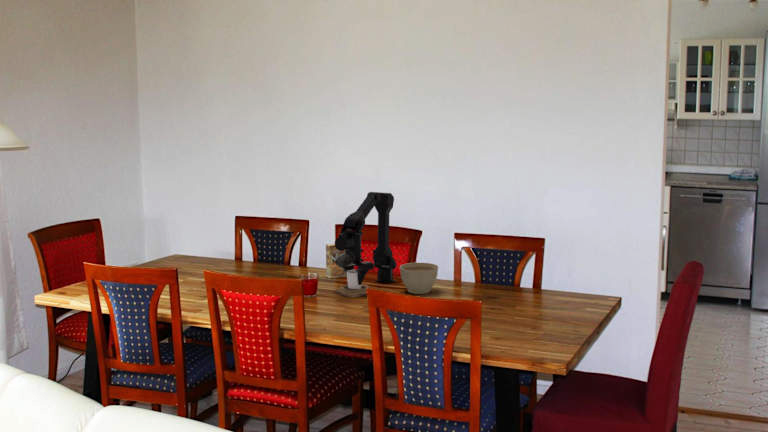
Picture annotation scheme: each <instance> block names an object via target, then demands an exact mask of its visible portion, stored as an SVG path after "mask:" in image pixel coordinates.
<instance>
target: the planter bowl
mask: <svg viewBox="0 0 768 432" xmlns="http://www.w3.org/2000/svg"><path fill="white" fill-rule="evenodd" d="M399 271H400V277H401V280H402V283H403V285H404V286H405V288H406V289H407V292H408V293H410V294H414V295H422V294H429V293H430V292H431V290H432V288H433V286H434V285H435V283H436V280H437V277H438V273H439V266H438V265H437V264H434V263H430V262H409V263H404V264H401V265H400V266H399Z"/></svg>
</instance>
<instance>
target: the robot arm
mask: <svg viewBox="0 0 768 432" xmlns="http://www.w3.org/2000/svg"><path fill="white" fill-rule="evenodd" d="M366 195H367V196H366V197H365V199H364V200H363V201H362V203H361V204H360V205H359V206H358V208H357V210H355V211H354V212H352V213H350V214H349V215H347V217H345V219H344V221H343V224H342V227H341V230H340V233H339V234H338V237H337V238H336V239H335V240H334V244H335V247H336V249H337V250H339V251H343V250H345V254H343V255H341V256H340V257H338V258H337V259H336V260H335V264H336V265H338V266H340V267H341V268H342V269H343V270H344V271H345V274H346V276H347V273H346V271H347V270H355V269H354V267H357V269H356V270H355V271H356V272H357V273H358V284H359V285H361V284H363V281H364V280H365V277H366V275H367V274H368V272H369V271H370V270H375V269H376V268H377V273H376V274H377V277H376V278H377V279H375V282H377V283H378V282H379V283H381V284H382V283H383V284H387V283H393V282H396V279H394V270H395V269H396V268H397V265H398V263H397V261H396V259H395V258H394V256H393V251H392V248H391V246H390V213H391V211H392V210H393V208H394V202H395V197H394V195H393V194H392V193H391V192H380V191H379V192H377V191H369V192H368V193H367V194H366ZM374 208H375V210H376V212H377V246H376V247H375V249H373V250H372V261H369V260H366V261H364V258H362V253H363V252H364V248H362V236H363V235H364V232H363V231H362V230H363V229H364V227H365V226H366V219H367V217H368V216H369V214H370V213H371V212H372V210H373V209H374Z"/></svg>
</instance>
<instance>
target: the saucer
mask: <svg viewBox="0 0 768 432" xmlns="http://www.w3.org/2000/svg"><path fill="white" fill-rule="evenodd" d="M367 288H369V289H370V286H369V285H366V284H363V283H362V285H361V288H359V289H350V288H348V284H344V285H341V286H340V287H339V289H336V290H334V293H335V294H337V295H342V296H344V297H345V296H346V297H349V298H352V299H353V298H359V297H363V295H364V296H366V295H365V294H366V289H367Z"/></svg>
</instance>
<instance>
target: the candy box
mask: <svg viewBox="0 0 768 432" xmlns="http://www.w3.org/2000/svg"><path fill="white" fill-rule="evenodd" d="M343 254H345V250H343V251H339V250H337V249H336V247H335V243H329V244H325V268H326V269H325V270H326V271H325V272H326V273H325V274H326V278H327V277H328V278H327V279H337V278H347V276H346V274H345V271H344V270H343V269H342V268H341V267H340V266H338V265H336V264H335V260H336V259H337V258H338V257H340V256H341V255H343Z"/></svg>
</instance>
